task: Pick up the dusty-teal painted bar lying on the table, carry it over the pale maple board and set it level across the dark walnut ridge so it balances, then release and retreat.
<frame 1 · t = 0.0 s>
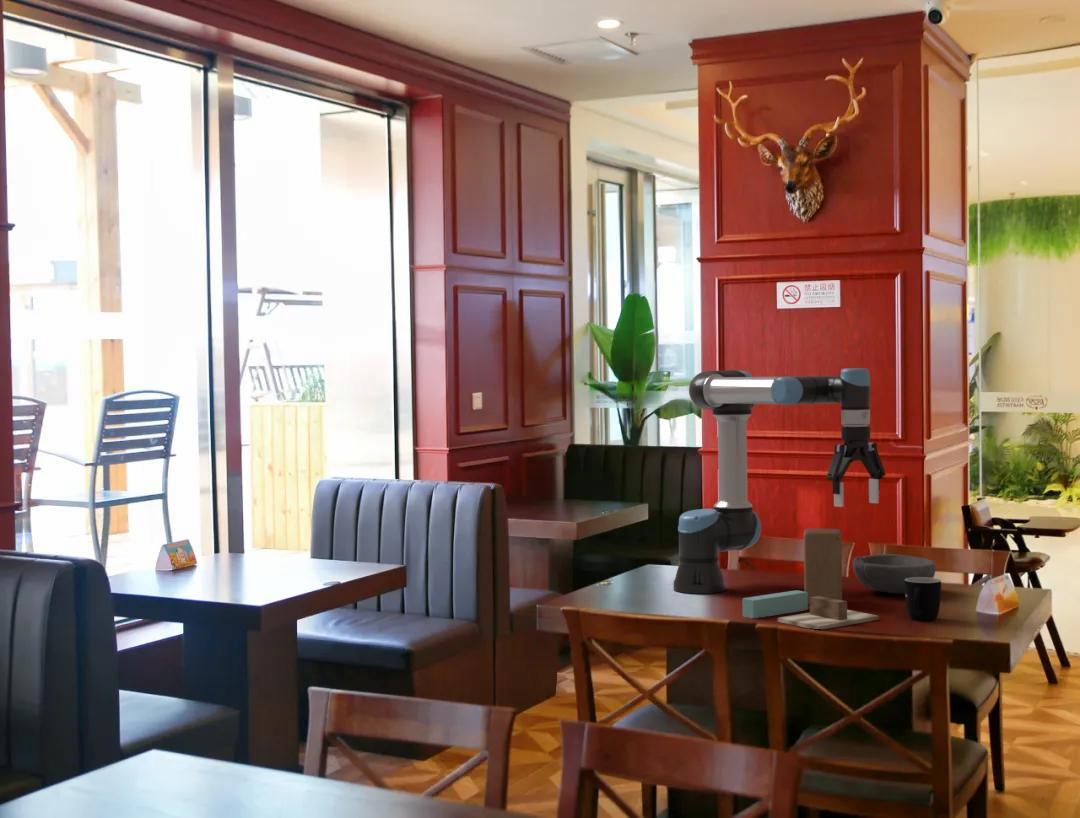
hand: (856, 504, 338), 28 cm above the table, fingers open, 13 cm apart
mug: (921, 620, 321), on the table
bar: (775, 614, 334), on the table
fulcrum: (828, 620, 322), on the table
bowl: (894, 593, 362), on the table
wooden block: (823, 603, 348), on the table
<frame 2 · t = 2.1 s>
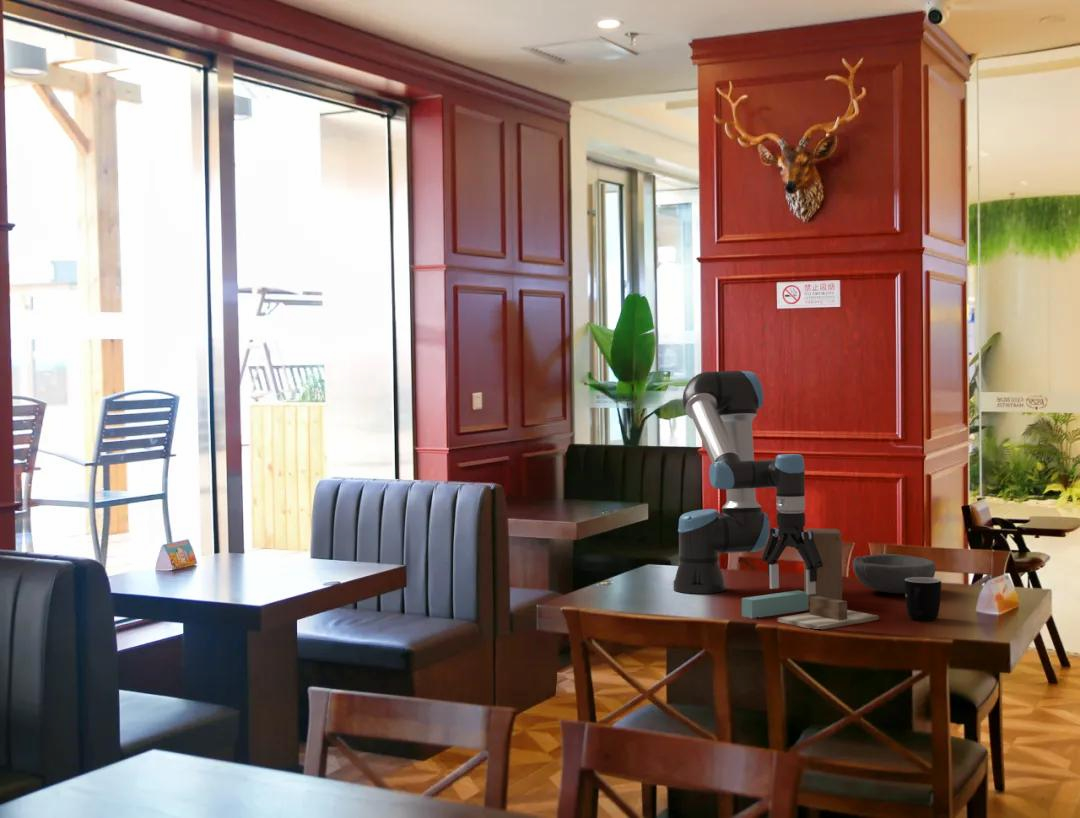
hand: (792, 591, 337), 5 cm above the table, fingers open, 13 cm apart
nothing on the table moved.
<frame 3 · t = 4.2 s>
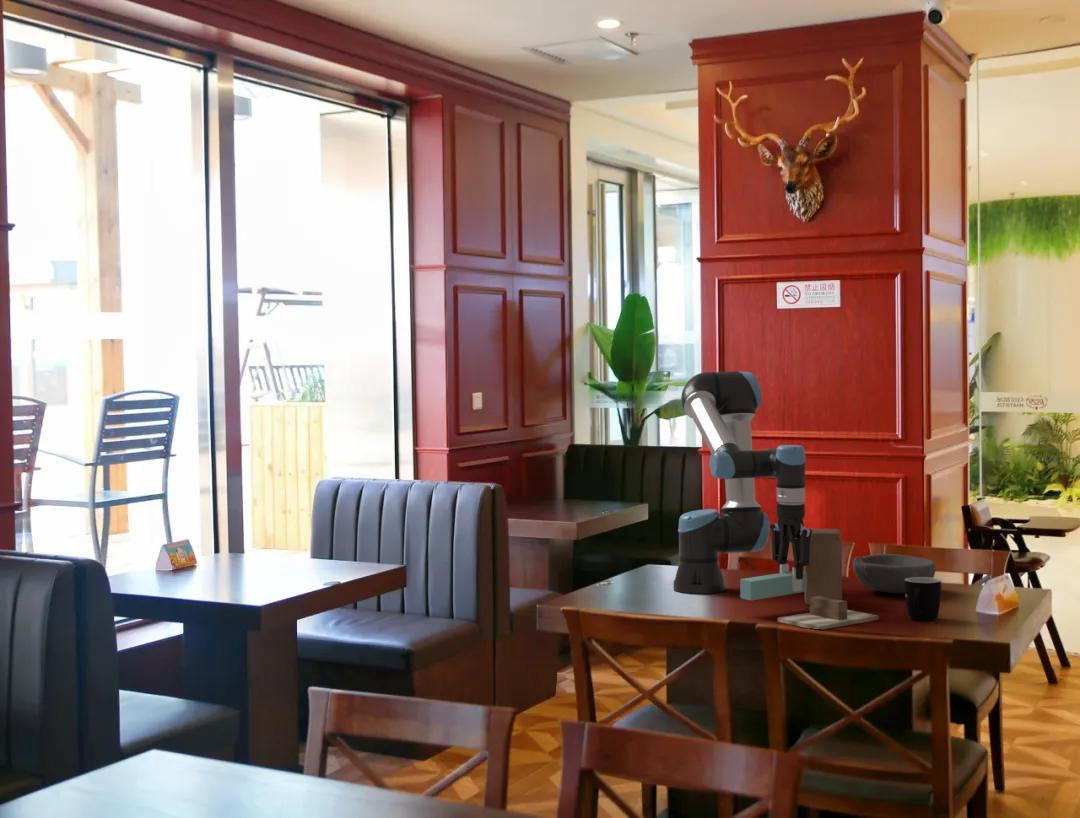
hand: (790, 589, 338), 6 cm above the table, fingers closed on bar, 4 cm apart
bar: (773, 594, 335), point 5 cm above the table, touching gripper
everything else where it was.
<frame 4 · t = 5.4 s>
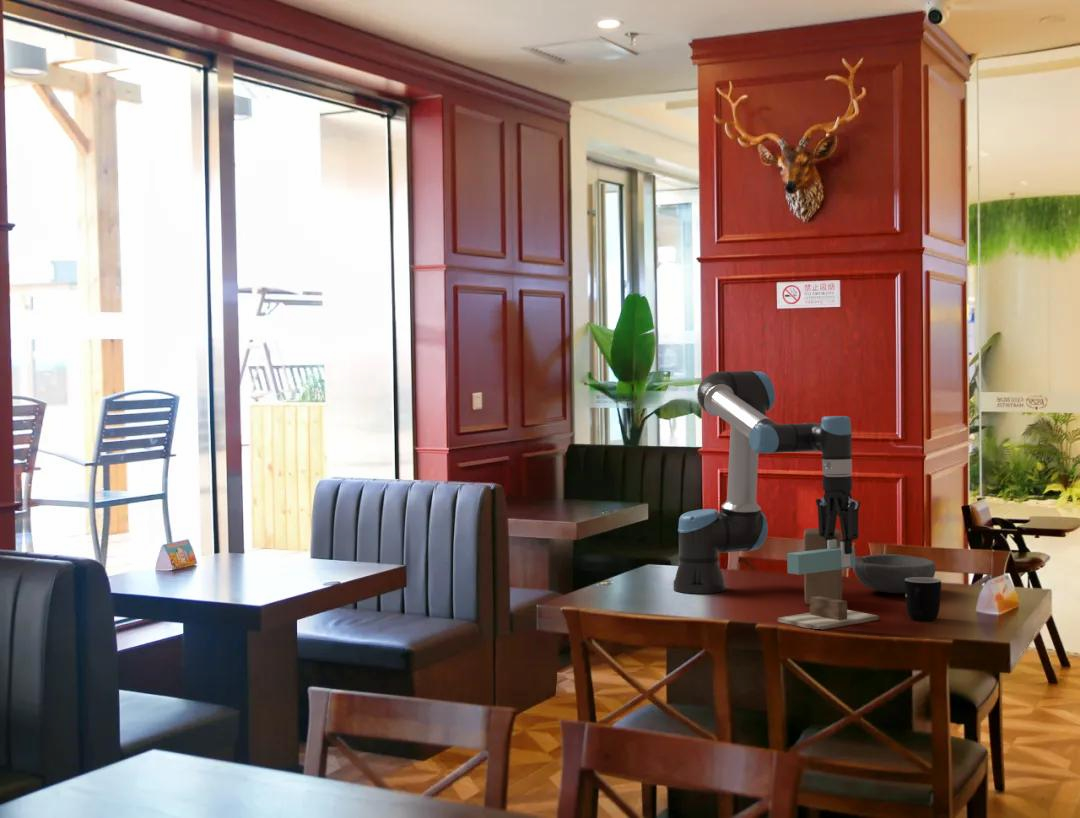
hand: (838, 565, 326), 14 cm above the table, fingers closed on bar, 4 cm apart
bar: (821, 570, 323), point 13 cm above the table, touching gripper
everything else where it was.
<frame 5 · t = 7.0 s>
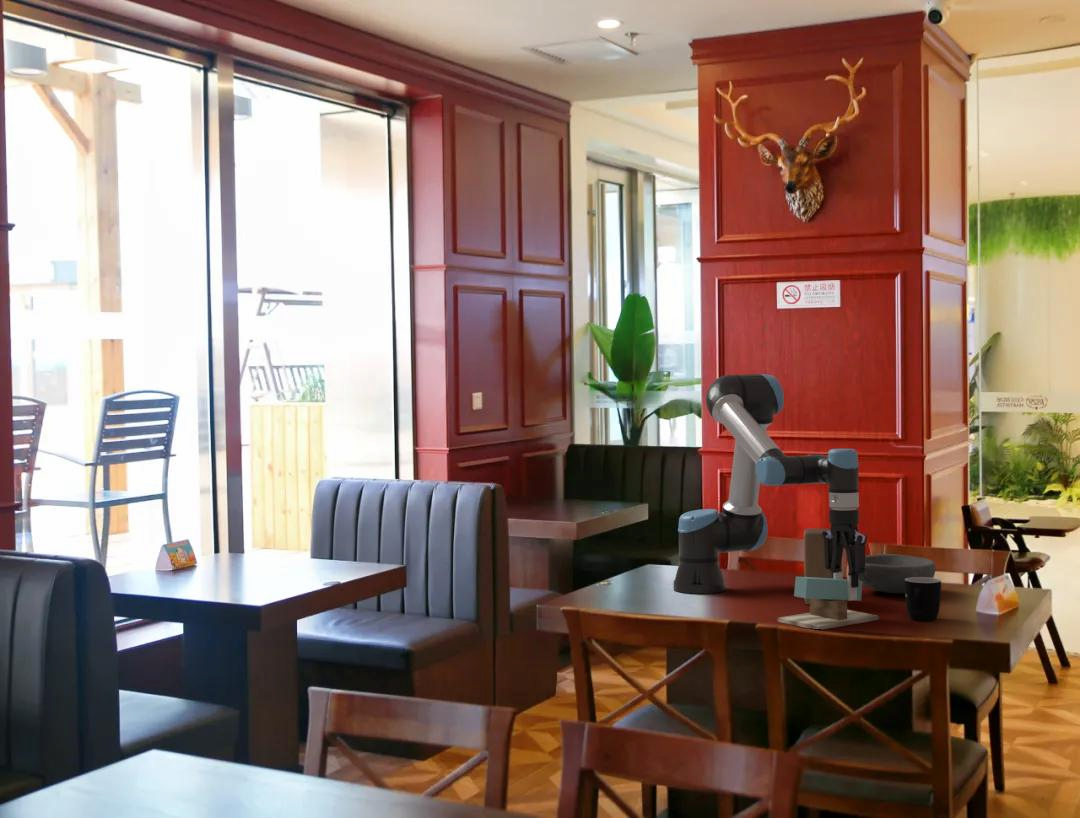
hand: (845, 598, 326), 5 cm above the table, fingers closed on bar, 4 cm apart
bar: (827, 598, 322), point 6 cm above the table, tilted 8°, touching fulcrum, gripper
everything else where it was.
when the fingers open (5 cm above the table, at t = 7.3 s): bar stays where it is, resting on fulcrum.
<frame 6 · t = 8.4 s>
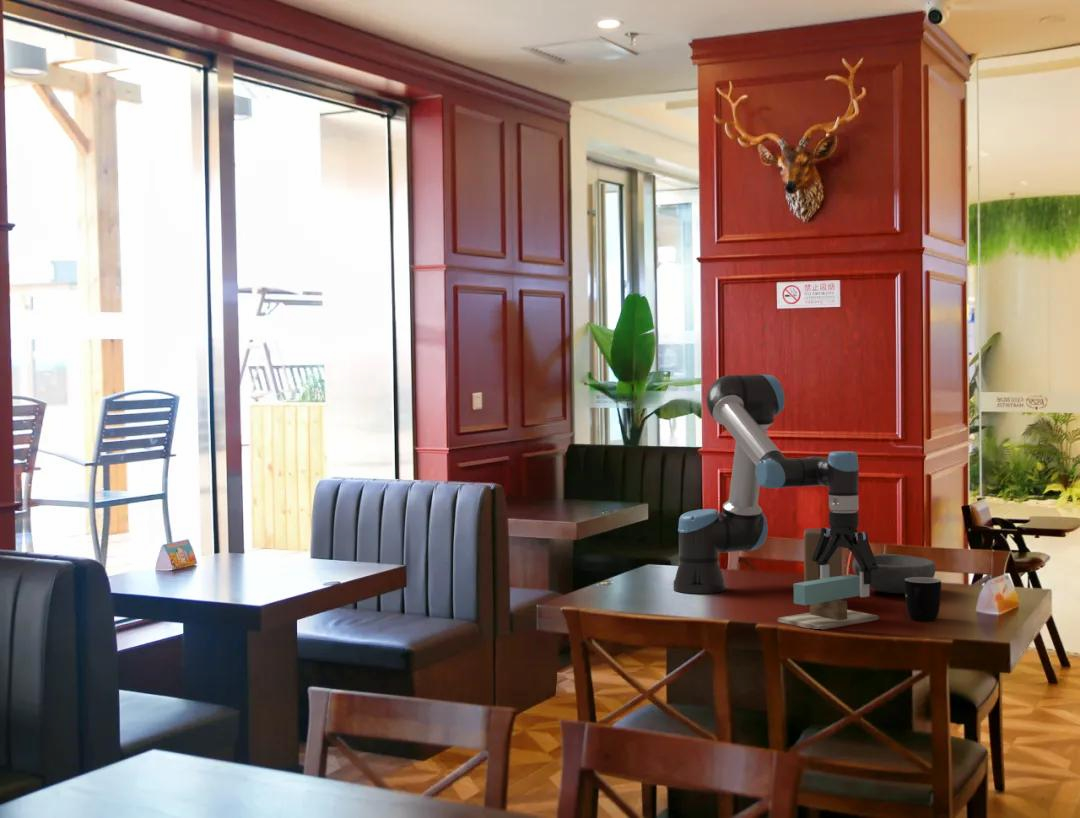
hand: (844, 593, 326), 6 cm above the table, fingers open, 13 cm apart
bar: (827, 599, 322), point 6 cm above the table, touching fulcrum
everything else where it was.
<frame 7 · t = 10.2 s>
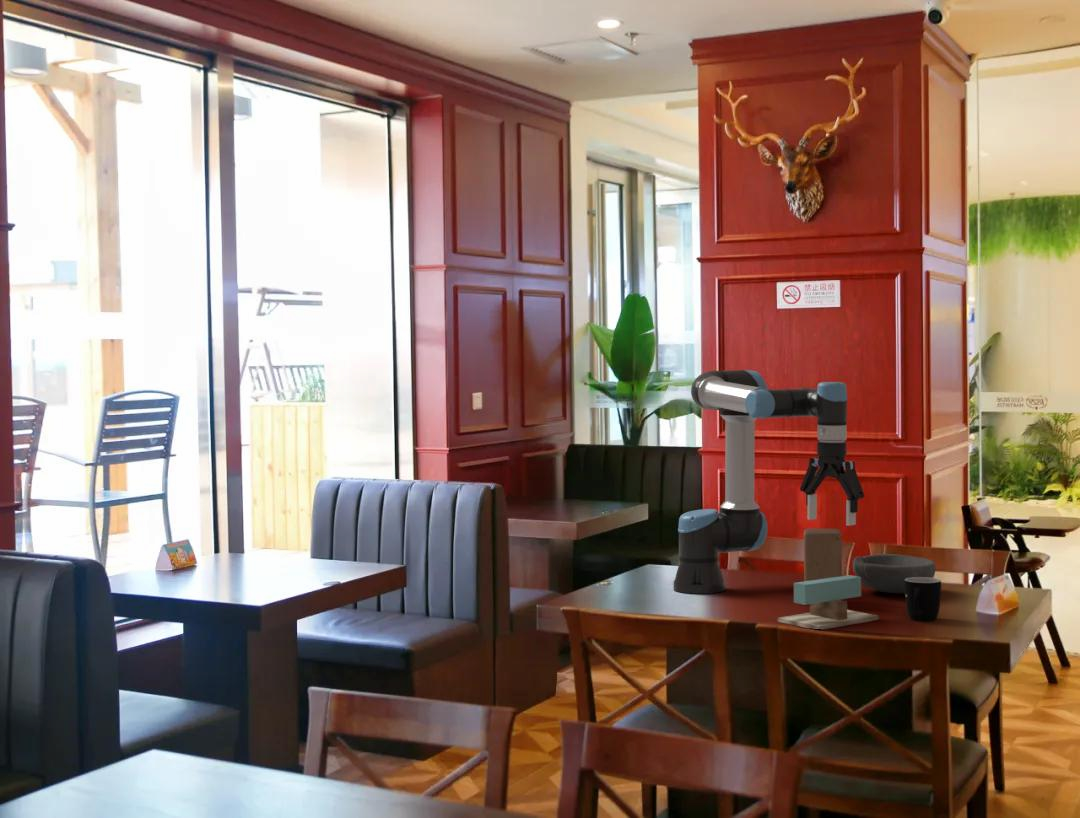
hand: (831, 522, 330), 24 cm above the table, fingers open, 13 cm apart
nothing on the table moved.
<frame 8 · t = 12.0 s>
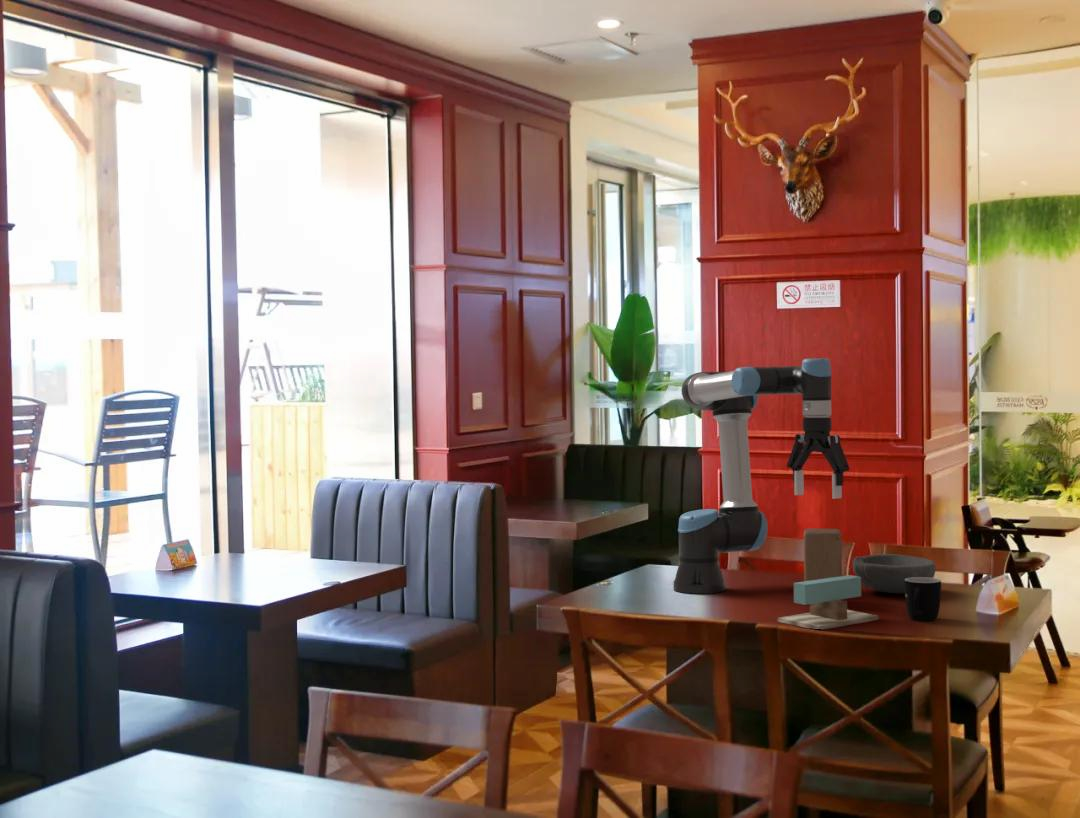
hand: (817, 496, 334), 31 cm above the table, fingers open, 13 cm apart
nothing on the table moved.
at the end: bar inside the target area on the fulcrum (0.2 cm from its centre), point 5.5 cm above the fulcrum's base; bar tilted 0°; the gripper is holding nothing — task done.
